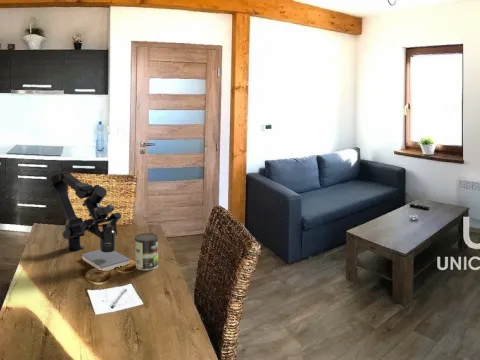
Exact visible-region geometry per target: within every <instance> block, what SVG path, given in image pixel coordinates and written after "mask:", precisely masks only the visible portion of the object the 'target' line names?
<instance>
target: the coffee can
mask: <svg viewBox="0 0 480 360" xmlns="http://www.w3.org/2000/svg"><path fill="white" fill-rule="evenodd" d="M134 243H135V245H134V246H135V247H134V248H135V249H134V251H135V253H134V256H135V258H134V259H135V266H136V267H135V269H137V270H139V271H151V270H155V269H157V268H158V267H159V236H158V235H157V234H155V233H140V234H137V235H135V236H134Z"/></svg>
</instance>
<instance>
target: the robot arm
mask: <svg viewBox="0 0 480 360" xmlns="http://www.w3.org/2000/svg"><path fill="white" fill-rule="evenodd" d="M46 185H47V187H48V188H49V190H50V192H52V193H53V194H54V195H55V196H56V198H57V200H58V203H59V205H60V208H61V211H62V213H63V215H64V218H65V226H64V227H65V229H64V231H63V232H62V237H63V239H66V240H67V245H68V246H65V249H66V250H68V251H69V252H75V251H79V250H83V249H84V246H82V245H81V237H83V236H85V232H86V231H87V233H88V232H89V233H91V234H93V235H94V236H96V237H98V238H99V239H100V238H101V239H104V238H103V235H102V233H101V231H102V230H100V227H99V225H100V224H106V223H107V224H113V228H114V229H113V230H114V231H115V232H116V236H117V235H118V232H117V223H118V222H119V221H120V219H121V218H122V217H123V216H122V214H121V213H120V212H119V211H117V212H113V211H114V210H115V207H114V205H113V204H112V203H110V204H107V205H106V206H101V204H100V203H102V201H103V200H104V198H105V197H106V196H107V195H108V194H107V193H108V192H107V189H106V188H104V187H102V186H101V185H99V184H95V185H94V186H93V185H92V184H89V183H86V182H82V181H81V180H79V179H78V178H76V177H75V176H73V175H72V174H71V172H69V171H61V172H59V173H57V174H56V175H53V176H50V177H48V179H47V181H46ZM67 187H70V188H71V189H72V190H73V191H74V194H75V196H77V197H78V198H79V199H80V200H82V199H85V200H83V202H82V207H86V209H87V210H88V216H89V217H91V218H89V219H84V220H83V218H82V217H78V216H77V215H76V212H75V210H74V207H73V205H72V203H71V201H70V197H69V195H68V192H67ZM109 214H110V215H109Z"/></svg>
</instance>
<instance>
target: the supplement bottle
mask: <svg viewBox="0 0 480 360" xmlns="http://www.w3.org/2000/svg"><path fill="white" fill-rule="evenodd" d="M113 229H114V228H113V224H109V223H103V224H102V225H101V230H100V231H101V233H102V235H103V238H104V239H101V238H99V250H101V251H102V252H106V253H108V252H113V251H116V250H117V249H116V247H117V239H116V236H117V235H116V232H115V231H114V230H113Z"/></svg>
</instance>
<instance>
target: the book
mask: <svg viewBox="0 0 480 360" xmlns="http://www.w3.org/2000/svg"><path fill="white" fill-rule="evenodd" d="M80 255H81V257H82V261H84V262H86V263H88V264H89V265H90V266H92V267H94V268H96V269H97V268H100V269H102V270H107V271H106V272H108V271H111V270H115V269H114V268H115V267H119V268H121V267H120V266H122V267H125V265H126V266H128V265H127V264H129V263H130V264H131V258H129V257H127V256H125V255H124V254H122V253H120V252H118V251H116V250H115V251H113V252H108V253H106V252H102V251H101V250H100V249H97V250H93V251H89V252H85V253H81V254H80ZM130 264H129V265H130Z"/></svg>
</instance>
